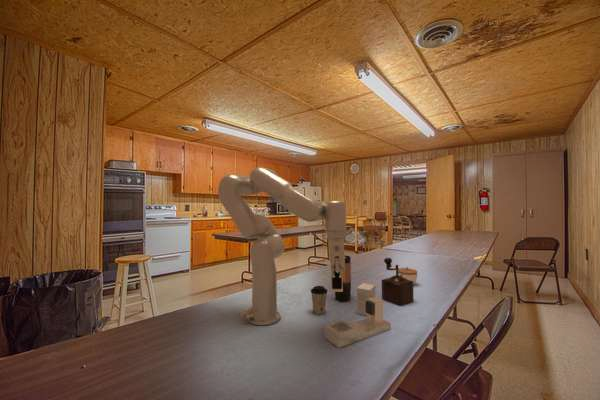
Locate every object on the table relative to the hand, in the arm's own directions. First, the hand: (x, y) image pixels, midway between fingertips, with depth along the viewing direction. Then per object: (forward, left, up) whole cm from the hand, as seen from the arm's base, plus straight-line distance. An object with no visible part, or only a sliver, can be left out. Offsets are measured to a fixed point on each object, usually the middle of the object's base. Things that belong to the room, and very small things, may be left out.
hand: (336, 286), depth 94 cm
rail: (+5, -6, -16) cm, 17 cm away
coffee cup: (+4, +16, -16) cm, 23 cm away
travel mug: (+22, +22, -16) cm, 35 cm away
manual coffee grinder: (+43, +10, -16) cm, 47 cm away
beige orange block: (0, 0, -1) cm, 1 cm away
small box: (+21, +6, -16) cm, 27 cm away
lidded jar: (+68, +21, -16) cm, 73 cm away
